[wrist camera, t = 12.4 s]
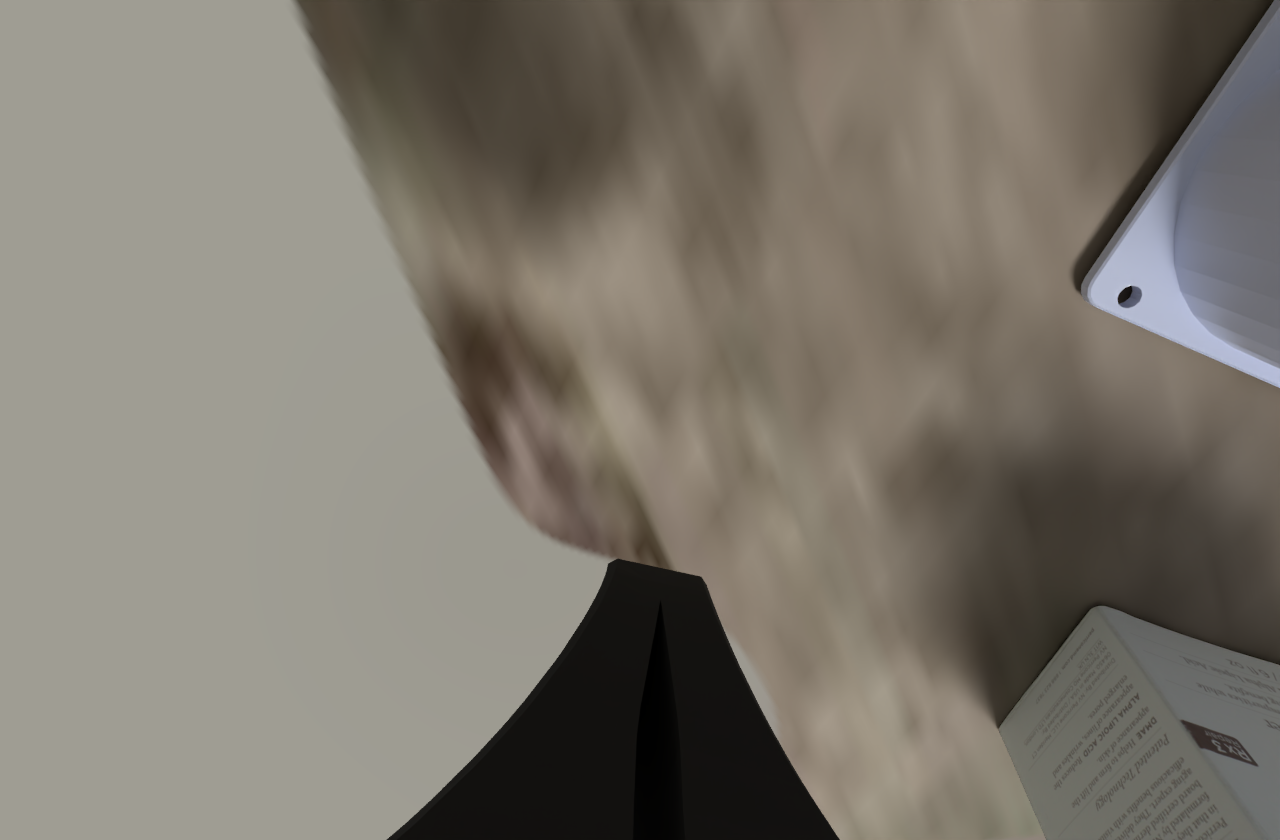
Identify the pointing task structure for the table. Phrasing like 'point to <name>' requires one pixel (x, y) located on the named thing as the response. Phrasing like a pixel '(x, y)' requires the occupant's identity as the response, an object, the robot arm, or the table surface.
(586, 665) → the robot arm
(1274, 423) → the table surface
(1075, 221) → the table surface
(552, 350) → the table surface
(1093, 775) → the skincare box
